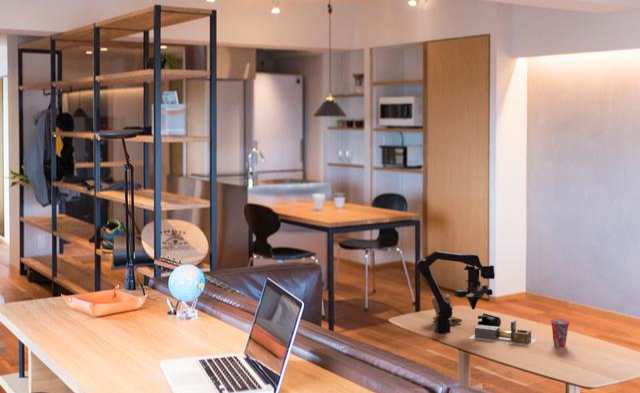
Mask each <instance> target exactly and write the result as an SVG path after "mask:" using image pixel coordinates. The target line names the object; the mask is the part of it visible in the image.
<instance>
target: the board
mask: <svg viewBox="0 0 640 393" xmlns="http://www.w3.org/2000/svg"><path fill="white" fill-rule="evenodd" d="M468 339H470V340H479V341H486V342H494V343H502V344H508V345H509V344H511V345H515V346H516V345H517V346H525V347H531V346H532V345H533V344H534V343H535V342H536V341H537V340H538V339H535V338H531V341H530V342H529V343H528V344H523V343H515V342H514V340H513V341H511V339H509V338H501V337H496V340H492V339H485V338H477V337H475V333H474V334H472V335H471V336H470V337H468Z"/></svg>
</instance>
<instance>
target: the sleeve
mask: <svg viewBox="0 0 640 393" xmlns="http://www.w3.org/2000/svg"><path fill="white" fill-rule="evenodd" d="M497 330H499V331H500V327H494V326H485V325H478V324H477V325H476V326H475V327H474V334H475V337H477V338H485V339H492V340H496V331H497Z"/></svg>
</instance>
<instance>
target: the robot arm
mask: <svg viewBox="0 0 640 393" xmlns="http://www.w3.org/2000/svg"><path fill="white" fill-rule="evenodd" d="M438 260H440V261H441V260H442V261H450V262H457V263H462V264H464V265H465V266H463V270H464V271H467V279H466V283H467V287H466V290H464V289H454V292H453V296H455V297H457V298H465V297H466V298H467V300H468V302H469V304H470V307H471V309H472V310H475V309H476V306H477V303H478V301H479V299H481V298H482V297H484V296H485V295H486V296H493V293H494V291H493V289H491V288H489V287H488V285H486V284H485V285H481V284H482V282H481V281H480V277H481V278H482V279H484V280H489V279H490V280H494V279H495V274H496V273H495V266H494V264H491V265H490V264H489V265H483V263H482V262H481V261H480V257H479V255H478V254H477V253H475V252H467V253H458V252H457V253H456V252H447V251H441V250H440V251H439V250H433V251H432V252H431V253H430V254H428V255H427V256H425V257H424V258H420V259H418V261H417V262H416V263H417V264H416V268H417V270H418V272H420V274H421V275H422V276H423V278H424V279H425V280H426V282H427V285H428V287H429V289H430V290H431V292H432V294H433V296H435V298H436V300H437V302H438V305H439V309H440V311H439V312H438V313H437V320H435V329H434V332H436V333H437V334H440V335H441V334H449V333H452V332H451V325H450V322H449V320H448V319H449V318H450V317H451V316H453V309H454V308H453V306H452V303H451V304H450V302H449V300H448V301H446V300H445V299H444V297H443V295H442V294H443V293H442V292H441V291H442V290H441V289H440V288H439V285H438V283H437V281H436V279H435V278H434V276H433V274H432V270H431V266H432V265H433V264H434V263H435V262H436V261H438Z"/></svg>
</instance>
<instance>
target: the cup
mask: <svg viewBox="0 0 640 393" xmlns="http://www.w3.org/2000/svg"><path fill="white" fill-rule="evenodd" d="M550 322H551V330H552V340H553V346H554V347H557V348H565V347H566V344H567V338H568V331H569V326H570V325H569V324H570V321H569V320H568V319H566V318H554V319H551V320H550Z"/></svg>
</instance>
